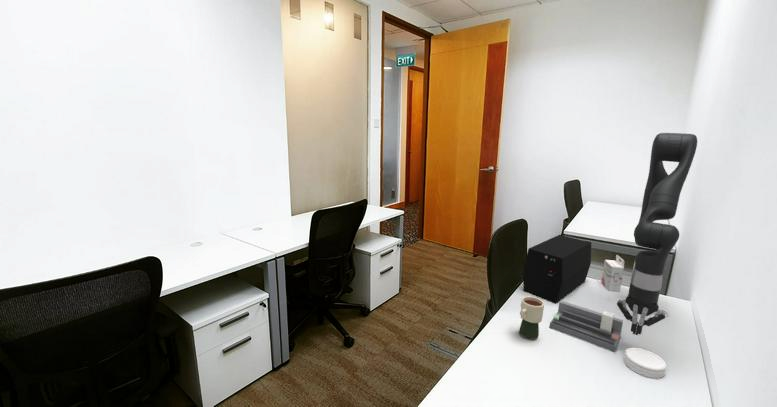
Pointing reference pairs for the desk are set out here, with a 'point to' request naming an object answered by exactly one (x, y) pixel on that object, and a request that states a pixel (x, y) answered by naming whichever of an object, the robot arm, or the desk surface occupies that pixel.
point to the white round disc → (645, 362)
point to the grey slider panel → (586, 325)
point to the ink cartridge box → (613, 274)
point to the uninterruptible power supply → (556, 267)
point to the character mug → (531, 316)
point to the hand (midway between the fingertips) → (635, 333)
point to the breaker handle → (607, 321)
